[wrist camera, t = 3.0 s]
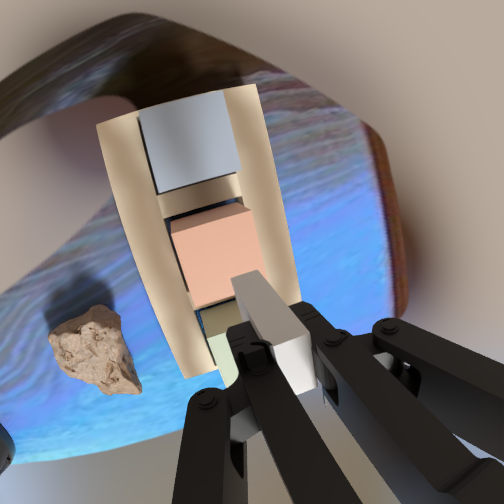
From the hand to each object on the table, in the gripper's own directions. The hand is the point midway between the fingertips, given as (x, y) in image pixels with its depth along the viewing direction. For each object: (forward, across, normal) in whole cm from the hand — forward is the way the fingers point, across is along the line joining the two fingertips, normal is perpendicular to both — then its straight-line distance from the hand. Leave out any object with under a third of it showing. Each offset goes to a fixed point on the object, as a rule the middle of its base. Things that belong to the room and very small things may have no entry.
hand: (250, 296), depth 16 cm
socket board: (+14, 0, 0) cm, 14 cm away
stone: (+15, -15, -8) cm, 22 cm away
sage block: (+12, 0, -9) cm, 15 cm away
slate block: (+12, 0, +9) cm, 15 cm away
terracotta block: (+12, 0, 0) cm, 12 cm away
